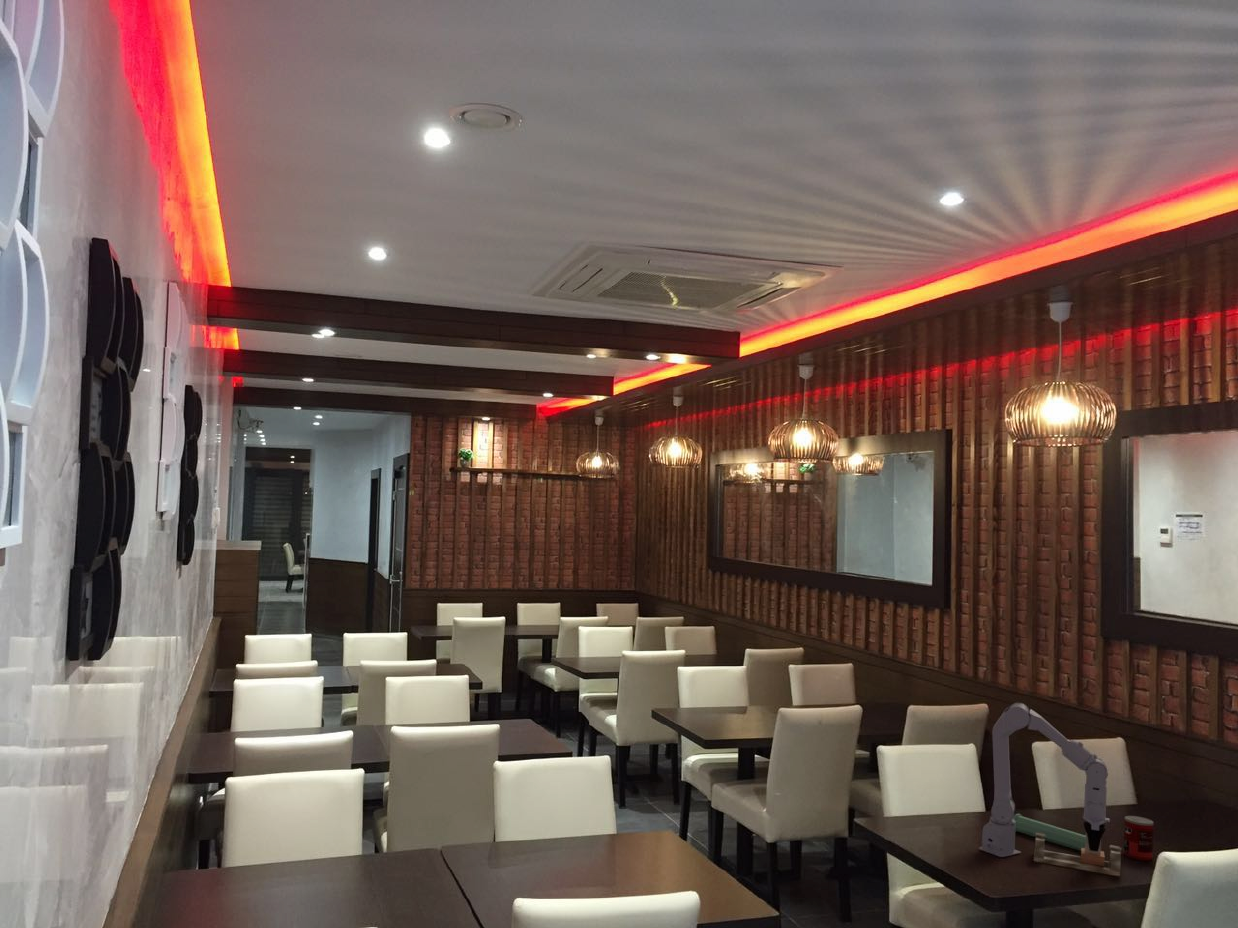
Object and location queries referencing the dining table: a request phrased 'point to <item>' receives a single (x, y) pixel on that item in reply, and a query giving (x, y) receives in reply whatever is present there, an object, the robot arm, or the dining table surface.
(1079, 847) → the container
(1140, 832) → the canned food
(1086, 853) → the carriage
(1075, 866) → the rail
